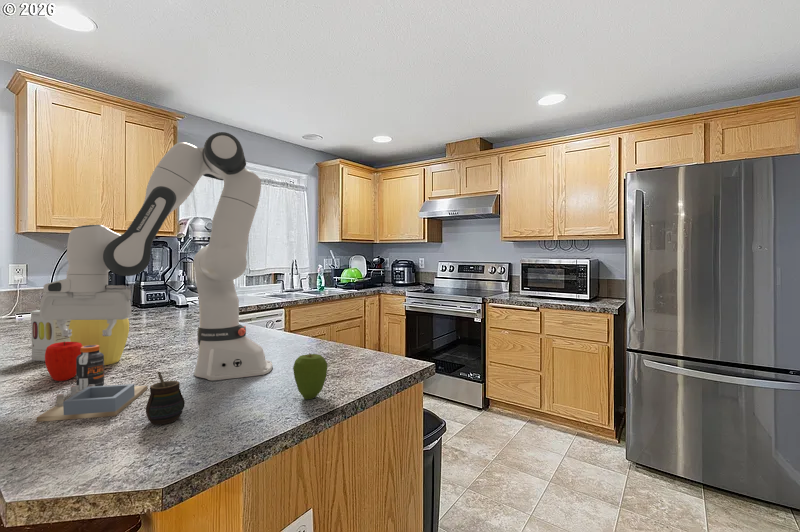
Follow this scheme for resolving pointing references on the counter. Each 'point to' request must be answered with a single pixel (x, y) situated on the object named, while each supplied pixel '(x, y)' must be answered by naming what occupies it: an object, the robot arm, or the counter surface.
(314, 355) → the apple
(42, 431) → the counter surface
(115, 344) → the vase
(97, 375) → the pill bottle
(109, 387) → the end holder
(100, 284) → the robot arm
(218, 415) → the counter surface
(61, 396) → the clips
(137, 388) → the board
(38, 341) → the supplement box
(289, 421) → the counter surface
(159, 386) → the mate gourd
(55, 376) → the apple
